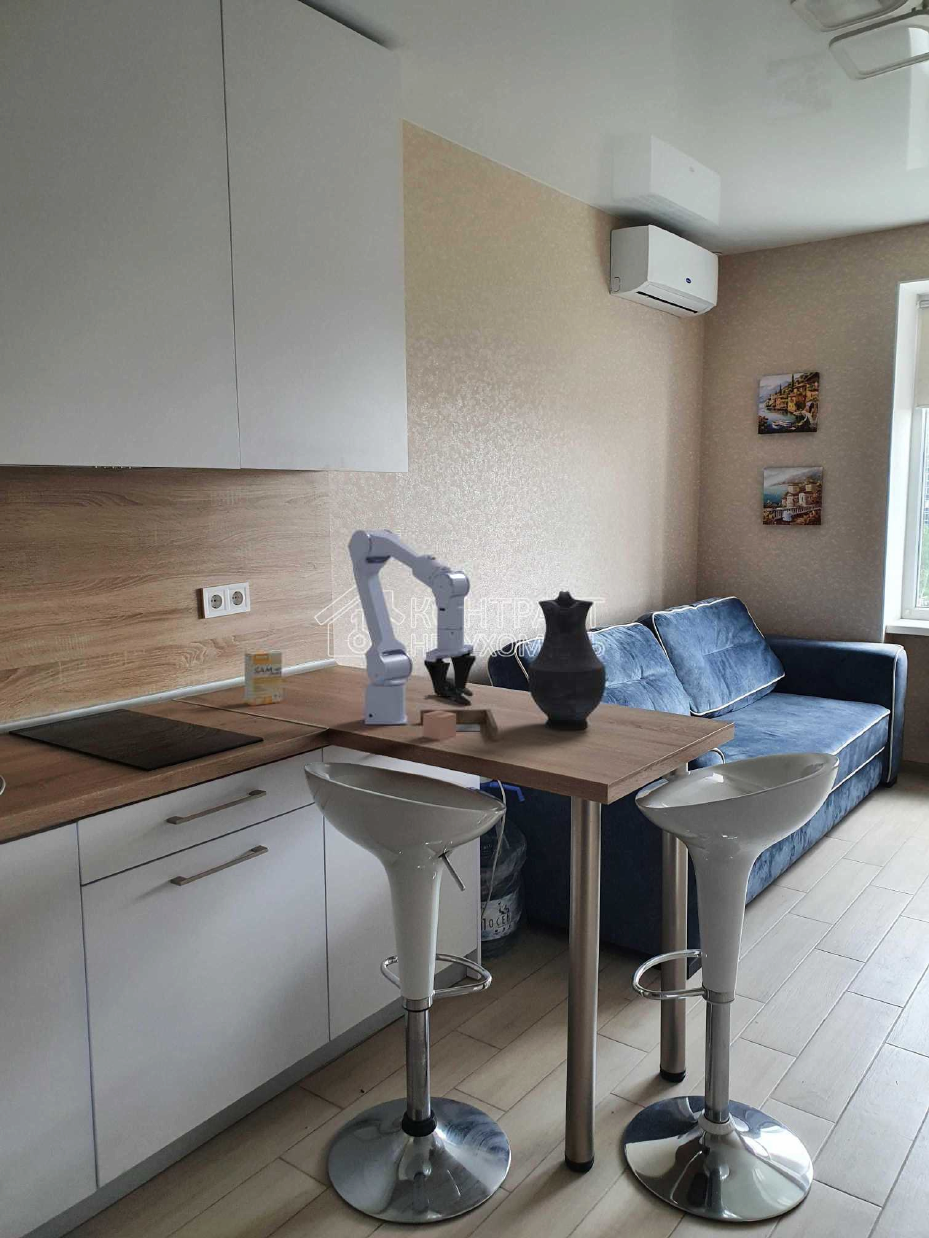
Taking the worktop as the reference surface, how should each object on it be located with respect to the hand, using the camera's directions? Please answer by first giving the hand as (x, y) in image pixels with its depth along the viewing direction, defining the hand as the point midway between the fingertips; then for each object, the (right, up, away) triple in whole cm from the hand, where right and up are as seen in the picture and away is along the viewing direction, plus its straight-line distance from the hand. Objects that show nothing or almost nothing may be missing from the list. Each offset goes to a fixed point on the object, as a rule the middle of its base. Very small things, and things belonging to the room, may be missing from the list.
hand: (450, 690), depth 200 cm
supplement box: (-47, -6, +33) cm, 58 cm away
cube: (-2, -10, -1) cm, 10 cm away
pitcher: (+26, -9, +12) cm, 30 cm away
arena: (+2, -9, +3) cm, 10 cm away
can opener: (+1, -6, +40) cm, 40 cm away
